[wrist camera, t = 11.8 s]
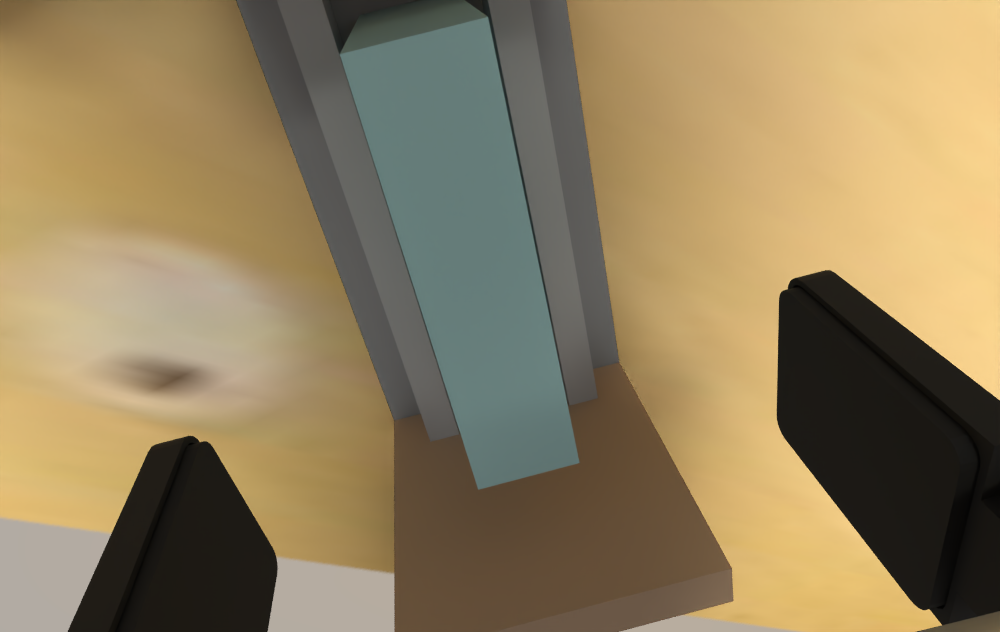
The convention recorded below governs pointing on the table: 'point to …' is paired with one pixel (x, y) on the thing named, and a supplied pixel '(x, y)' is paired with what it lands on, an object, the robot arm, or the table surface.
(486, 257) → the door panel
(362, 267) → the door frame
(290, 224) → the table surface
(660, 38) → the table surface
